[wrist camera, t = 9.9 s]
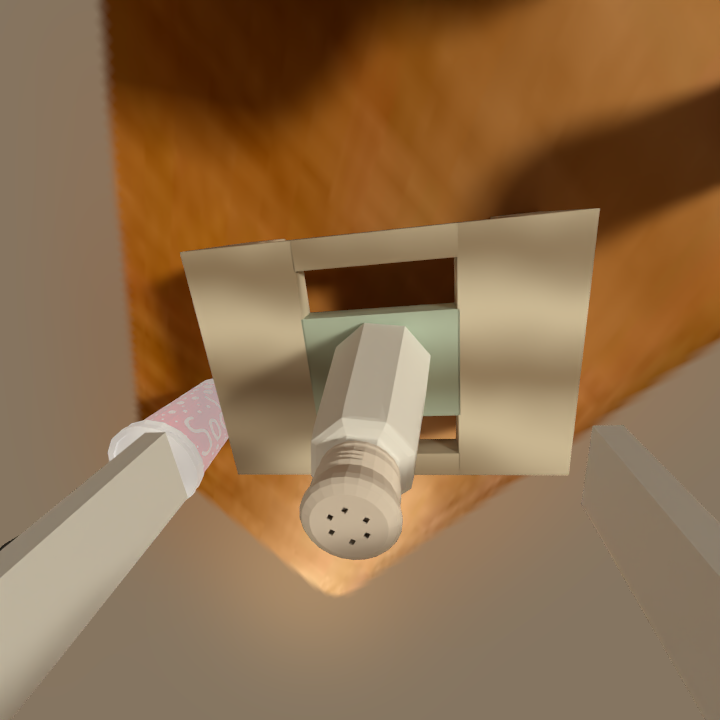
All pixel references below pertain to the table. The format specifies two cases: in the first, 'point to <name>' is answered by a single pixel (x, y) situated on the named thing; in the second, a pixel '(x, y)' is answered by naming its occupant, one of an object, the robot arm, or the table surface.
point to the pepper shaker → (366, 442)
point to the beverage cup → (184, 432)
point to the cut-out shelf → (497, 337)
